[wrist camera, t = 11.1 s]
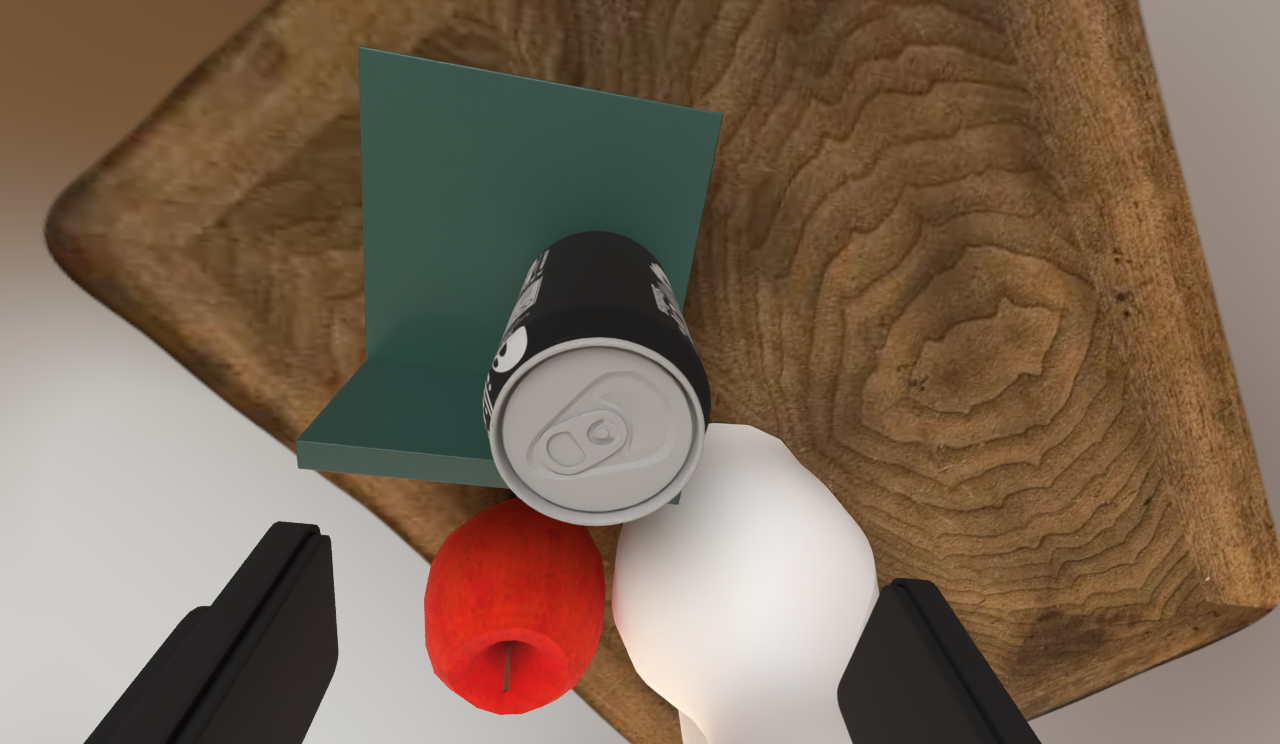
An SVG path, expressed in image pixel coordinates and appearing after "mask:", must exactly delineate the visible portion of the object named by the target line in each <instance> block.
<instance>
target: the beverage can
mask: <svg viewBox="0 0 1280 744" xmlns="http://www.w3.org/2000/svg"><path fill="white" fill-rule="evenodd" d="M710 411H711V396H710V388H709V383H708V379H707V376H706V373H705V371H704V368H703V365H702V363H701V360H700V358H699V355H698V353H697V350H696V348H695V345H694V343H693V340H692V338H691V335H690V333H689V330H688V328H687V325H686V323H685V320H684V318H683V315H682V313H681V310H680V308H679V305H678V303H677V300H676V298H675V295H674V293H673V290H672V288H671V285H670V283H669V280H668V278H667V276H666V273H665V271H664V270H663V268H662V266H661V265H660V263H659V262H658V260H657V259H656V258H655V257H654V256H653V255H652V254H651V253H650V252H649V251H648V250H647V249H646V248H645V247H643V246H642V245H640V244H639V243H637V242H636V241H634V240H632V239H630V238H628V237H625V236H623V235H620V234H616V233H612V232H606V231H587V232H581V233H576V234H573V235H570V236H567V237H565V238H563V239H561V240H559V241H557V242H555V243H554V244H552V245H551V246H549V247H548V248H547V249H546V250H545V251H543V252H542V253H541V254H540V255H539V257H538V258H537V259H536V260H535V262H534V263H533V265H532V266H531V268H530V270H529V271H528V274H527V276H526V278H525V281H524V283H523V286H522V289H521V291H520V294H519V296H518V299H517V301H516V304H515V307H514V309H513V312H512V314H511V317H510V319H509V322H508V324H507V327H506V330H505V332H504V335H503V337H502V340H501V342H500V345H499V348H498V350H497V353H496V355H495V358H494V360H493V363H492V366H491V368H490V371H489V373H488V376H487V379H486V383H485V387H484V394H483V416H484V422H485V426H486V430H487V434H488V437H489V439H490V446H491V451H492V456H493V459H494V462H495V464H496V467H497V469H498V471H499V473H500V475H501V477H502V478H503V480H504V481H505V483H506V484H507V486H508V487H509V488H510V489H511V490H512V491H513V492H514V493H515V494H516V495H517V496H518V497H519V498H520V499H521V500H523V501H524V502H525V503H526V504H527V505H529V506H530V507H532V508H534V509H535V510H537V511H539V512H541V513H543V514H544V515H546V516H549V517H552V518H554V519H557V520H560V521H563V522H568V523H572V524H577V525H585V526H604V525H615V524H620V523H625V522H629V521H632V520H636V519H638V518H641V517H643V516H646V515H648V514H650V513H652V512H654V511H655V510H657V509H659V508H661V507H662V506H664V505H665V504H666V503H668V502H669V501H670V500H672V499H673V498H674V497H675V496H676V495H677V494H678V493H679V492H680V491H681V490H682V489H683V488H684V486H685V485H686V484H687V483H688V481H689V480H690V479H691V477H692V475H693V474H694V472H695V470H696V468H697V466H698V464H699V461H700V458H701V455H702V451H703V447H704V439H705V434H706V431H707V429H708V424H709V418H710Z"/></svg>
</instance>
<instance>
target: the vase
mask: <svg viewBox="0 0 1280 744" xmlns="http://www.w3.org/2000/svg"><path fill="white" fill-rule="evenodd" d="M878 597H879V589H878V583H877V576H876V570H875V564H874V557H873V552H872V550H871V547H870V545H869V542H868V540H867V538H866V536H865V535H864V533H863V532H862V530H861V528H860V527H859V526H858V524H857V523H856V522H855V521H854V519H853V518H852V517H851V516H850V515H849V513H848V512H847V511H846V510H845V509H844V507H843V506H842V505H841V504H840V503H839V501H838V500H837V499H836V498H835V496H834V495H833V494H832V493H831V492H830V491H829V489H828V488H827V487H826V486H825V485H824V484H823V483H822V482H821V481H820V480H819V479H818V478H817V477H816V476H814V475H813V474H812V473H811V472H810V471H808V470H807V469H806V468H805V467H804V466H802V465H801V464H800V463H799V461H798V460H797V459H796V458H795V457H794V455H793V454H792V453H791V452H790V451H789V449H788V448H787V447H786V446H785V445H784V443H783V442H782V441H781V440H780V439H778V438H776V437H774V436H772V435H769V434H767V433H765V432H763V431H761V430H759V429H757V428H755V427H752V426H750V425H738V424H722V423H711V424H708V429H707V431H706V434H705V439H704V447H703V451H702V455H701V458H700V461H699V464H698V466H697V468H696V470H695V472H694V474H693V475H692V477H691V479H690V480H689V481H688V483H687V484H686V485H685V486H684V488H683V489H682V492H681V496H680V500H679V504H678V505H674V504H665V505H664V506H662V507H661V508H659V509H657V510H655V511H654V512H652V513H650V514H648V515H646V516H643V517H641V518H638V519H636V520H632V521H629V522H625V523H623V525H622V528H621V531H620V535H619V540H618V545H617V552H616V561H615V569H614V578H613V586H612V611H613V616H614V621H615V624H616V626H617V629H618V631H619V633H620V636H621V638H622V640H623V642H624V645H625V647H626V649H627V652H628V654H629V656H630V658H631V661H632V663H633V665H634V667H635V669H636V671H637V673H638V674H639V675H640V676H641V678H642V679H643V680H644V681H645V683H646V684H647V685H648V686H650V687H651V688H652V689H653V690H655V691H656V692H657V693H658V694H660V695H661V696H662V697H663V698H665V699H666V700H667V701H668V702H670V703H671V704H672V705H673V706H675V707H676V708H677V709H679V710H680V711H681V712H683V713H684V714H685V715H687V716H688V717H689V718H691V719H692V720H693V721H694V722H695V723H696V724H697V726H698V727H699V728H700V730H701V731H702V732H703V734H704V735H705V737H706V740H707V744H853V743H852V741H851V738H850V736H849V733H848V730H847V728H846V725H845V722H844V720H843V717H842V714H841V712H840V709H839V706H838V701H837V688H838V685H839V682H840V680H841V678H842V676H843V674H844V671H845V669H846V667H847V665H848V663H849V660H850V658H851V656H852V654H853V652H854V650H855V647H856V645H857V643H858V641H859V639H860V636H861V634H862V632H863V630H864V628H865V626H866V623H867V621H868V619H869V617H870V615H871V612H872V610H873V608H874V606H875V604H876V602H877V599H878Z"/></svg>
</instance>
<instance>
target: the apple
mask: <svg viewBox="0 0 1280 744" xmlns="http://www.w3.org/2000/svg"><path fill="white" fill-rule="evenodd" d="M605 588H606V585H605V579H604V573H603V566H602V560H601V554H600V552H599V550H598V548H597V546H596V544H595V543H594V541H593V539H592V537H591V536H590V534H589V532H588V530H587V529H586V527H585V526H584V525H577V524H572V523H568V522H563V521H560V520H557V519H554V518H552V517H549V516H546V515H544V514H543V513H541V512H539V511H537V510H535V509H534V508H532V507H530V506H529V505H527V504H526V503H525V502H524V501H523V500H521V499H520V498H513V499H508V500H505V501H503V502H501V503H499V504H496V505H494V506H492V507H490V508H487V509H485V510H483V511H481V512H480V513H478V514H477V515H476V516H474V517H473V518H472V519H470V520H469V521H468V522H466V523H465V524H464V525H462V526H461V527H459V528H458V529H457V530H455V531H454V532H453V533H451V534H450V535H449V536H448V538H447V539H446V541H445V542H444V543H443V545H442V546H441V548H440V549H439V551H438V553H437V555H436V556H435V558H434V560H433V562H432V563H431V568H430V573H429V577H428V582H427V587H426V592H425V598H424V609H425V610H424V611H425V639H426V648H427V651H428V654H429V658H430V661H431V664H432V667H433V670H434V673H435V674H436V675H437V676H438V677H439V678H440V679H441V680H442V682H444V684H445V685H446V686H447V687H448V688H449V689H451V690H452V691H454V692H455V693H456V694H458V695H460V696H461V697H463V698H464V699H465V700H467V701H468V702H469V703H471V704H472V705H474V706H475V707H477V708H479V709H483V710H486V711H489V712H493V713H496V714H499V715H504V714H523V713H526V712H528V711H531V710H534V709H536V708H539V707H542V706H544V705H546V704H548V703H550V702H552V701H555V700H557V699H558V698H559V697H561V696H562V695H564V694H565V693H566V692H567V691H569V690H570V689H571V688H573V687H574V686H575V685H576V684H577V683H578V681H579V680H580V678H581V677H582V675H583V674H584V672H585V671H586V669H587V668H588V666H589V664H590V662H591V660H592V658H593V656H594V654H595V652H596V649H597V645H598V642H599V639H600V635H601V632H602V625H603V613H604V600H605Z"/></svg>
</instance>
